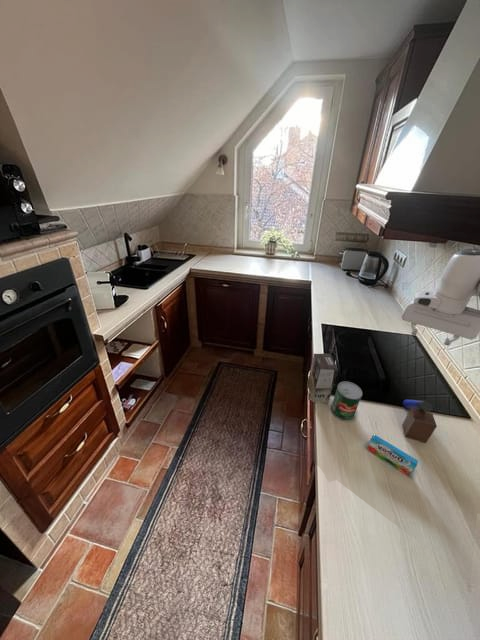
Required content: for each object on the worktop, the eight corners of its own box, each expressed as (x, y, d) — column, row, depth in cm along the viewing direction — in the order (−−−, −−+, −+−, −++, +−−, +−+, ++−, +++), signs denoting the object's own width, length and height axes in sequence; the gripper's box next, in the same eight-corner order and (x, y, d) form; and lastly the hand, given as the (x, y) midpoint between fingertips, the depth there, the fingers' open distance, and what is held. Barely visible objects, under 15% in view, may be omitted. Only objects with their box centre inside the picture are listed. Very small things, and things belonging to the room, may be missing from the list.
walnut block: (402, 424, 86) (411, 408, 82) (422, 430, 85) (432, 413, 80) (404, 437, 82) (414, 420, 78) (425, 443, 81) (437, 426, 76)
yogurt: (365, 449, 78) (371, 437, 75) (367, 446, 79) (373, 433, 76) (409, 477, 72) (417, 464, 68) (410, 473, 73) (418, 460, 69)
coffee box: (329, 402, 94) (339, 370, 85) (311, 402, 94) (319, 369, 85) (322, 384, 102) (331, 353, 93) (306, 384, 102) (313, 352, 93)
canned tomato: (344, 400, 95) (351, 379, 89) (358, 417, 88) (367, 395, 83) (326, 405, 93) (332, 383, 87) (339, 423, 86) (347, 401, 81)
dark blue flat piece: (401, 402, 95) (414, 377, 88) (410, 405, 94) (424, 379, 87) (407, 431, 84) (423, 405, 78) (418, 434, 83) (435, 408, 77)
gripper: (490, 308, 75) (468, 346, 82) (411, 290, 85) (397, 325, 92) (493, 317, 70) (468, 356, 77) (409, 296, 81) (394, 332, 88)
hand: (429, 339), depth 85 cm, fingers open, 8 cm apart
